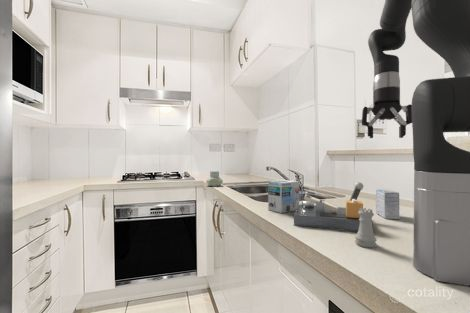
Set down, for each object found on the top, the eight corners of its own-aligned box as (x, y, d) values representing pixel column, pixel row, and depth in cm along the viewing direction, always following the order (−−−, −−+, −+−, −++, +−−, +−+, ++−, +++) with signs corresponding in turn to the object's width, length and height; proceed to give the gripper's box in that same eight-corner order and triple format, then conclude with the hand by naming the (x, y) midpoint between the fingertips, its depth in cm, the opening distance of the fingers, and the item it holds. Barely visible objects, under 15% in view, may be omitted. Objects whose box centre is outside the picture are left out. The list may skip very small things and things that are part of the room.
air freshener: (222, 185, 168) (222, 170, 168) (222, 186, 160) (223, 171, 160) (206, 185, 168) (206, 170, 168) (206, 186, 159) (206, 171, 159)
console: (372, 233, 64) (372, 210, 64) (293, 225, 71) (294, 204, 71) (363, 218, 80) (363, 199, 80) (299, 212, 86) (299, 195, 87)
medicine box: (399, 220, 78) (400, 192, 78) (384, 219, 79) (384, 192, 79) (389, 214, 86) (389, 189, 86) (375, 213, 87) (375, 189, 87)
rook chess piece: (365, 249, 53) (365, 211, 53) (350, 242, 57) (350, 207, 57) (381, 247, 54) (382, 210, 54) (365, 240, 58) (366, 206, 58)
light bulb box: (281, 213, 85) (281, 182, 85) (267, 210, 91) (267, 181, 91) (300, 209, 92) (300, 180, 92) (285, 206, 97) (286, 179, 97)
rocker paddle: (336, 212, 73) (338, 207, 73) (303, 199, 76) (304, 195, 76) (335, 209, 77) (337, 205, 77) (304, 197, 80) (305, 193, 80)
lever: (354, 211, 77) (365, 184, 76) (345, 207, 78) (356, 181, 77) (353, 209, 80) (364, 183, 78) (344, 206, 80) (355, 180, 79)
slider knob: (362, 218, 66) (363, 201, 66) (346, 217, 68) (346, 200, 68) (360, 215, 70) (361, 199, 70) (345, 214, 71) (345, 198, 71)
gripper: (363, 87, 80) (363, 137, 80) (415, 83, 75) (415, 136, 75) (360, 93, 87) (360, 139, 87) (408, 90, 82) (408, 138, 82)
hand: (386, 137), depth 81 cm, fingers open, 8 cm apart
